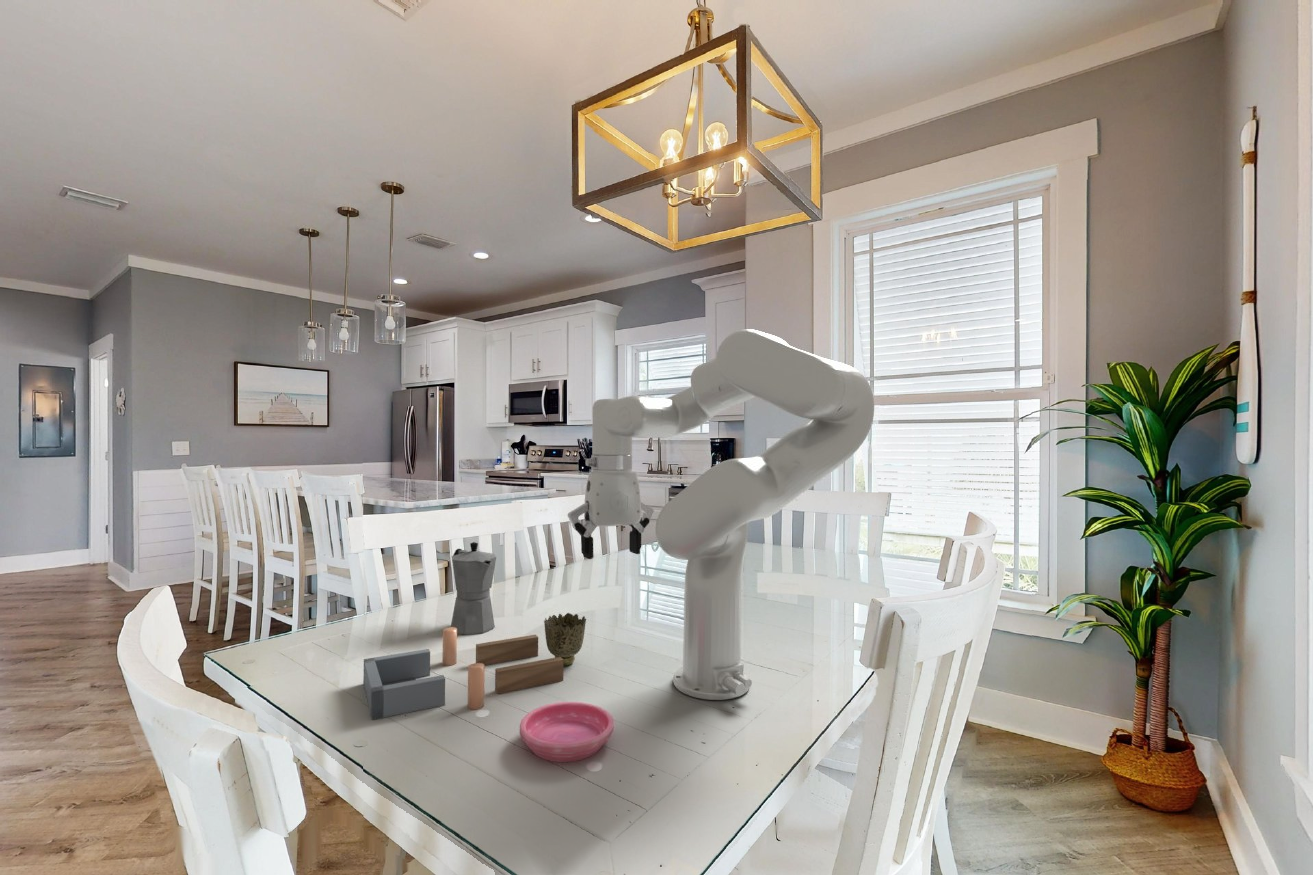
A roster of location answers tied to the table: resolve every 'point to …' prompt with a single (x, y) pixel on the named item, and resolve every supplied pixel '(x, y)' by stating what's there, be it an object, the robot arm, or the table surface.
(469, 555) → the coffeepot
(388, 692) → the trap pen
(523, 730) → the pink bowl
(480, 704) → the goal posts
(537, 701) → the table surface
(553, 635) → the cup
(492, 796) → the table surface
